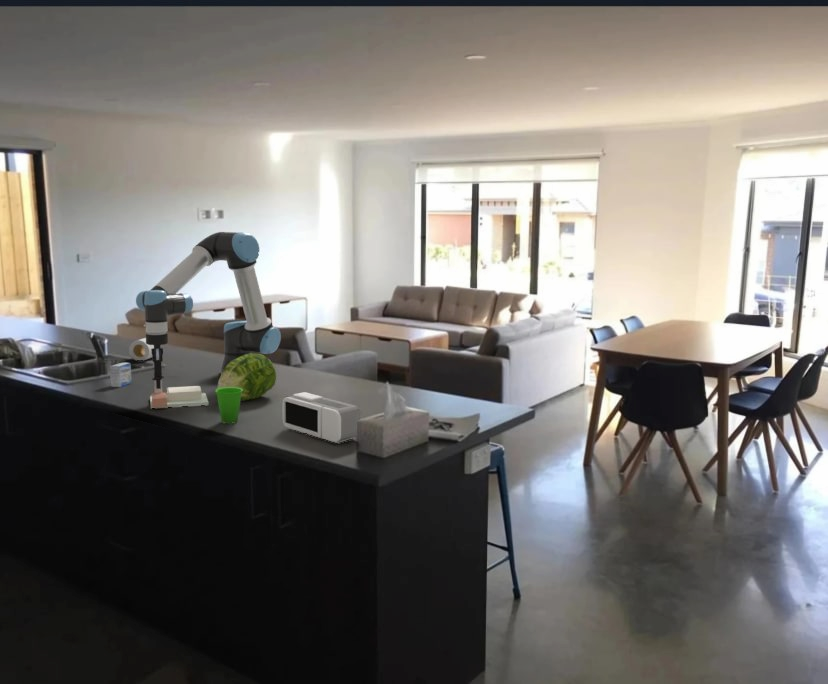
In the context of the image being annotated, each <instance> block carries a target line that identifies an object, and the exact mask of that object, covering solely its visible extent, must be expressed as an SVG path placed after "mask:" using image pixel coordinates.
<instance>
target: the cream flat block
mask: <svg viewBox="0 0 828 684" xmlns="http://www.w3.org/2000/svg"><path fill="white" fill-rule="evenodd" d="M202 393H203V392H202V389H201V386H200V385H191V386H189V385H188V386H170V387H166V395H167V398H168V401H175V400H192V399H202Z"/></svg>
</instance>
